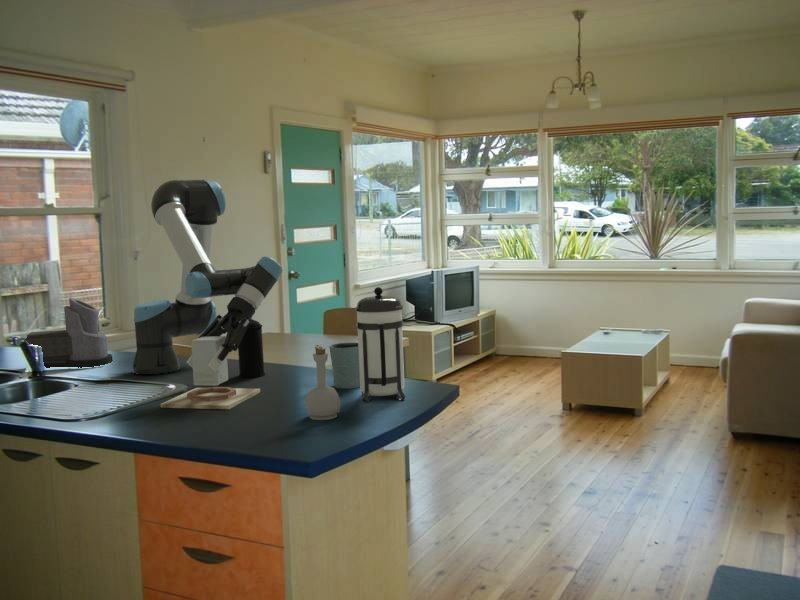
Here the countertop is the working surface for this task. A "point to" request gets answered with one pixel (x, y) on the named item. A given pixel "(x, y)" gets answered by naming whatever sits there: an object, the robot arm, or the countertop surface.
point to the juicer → (74, 339)
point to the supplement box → (208, 361)
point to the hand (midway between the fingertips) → (200, 367)
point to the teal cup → (345, 365)
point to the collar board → (211, 398)
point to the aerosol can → (251, 352)
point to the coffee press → (380, 346)
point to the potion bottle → (322, 392)
